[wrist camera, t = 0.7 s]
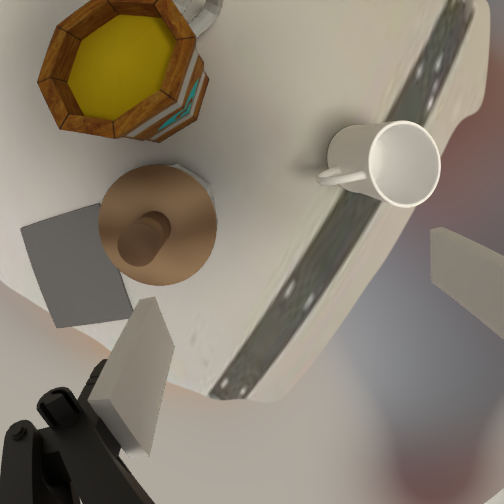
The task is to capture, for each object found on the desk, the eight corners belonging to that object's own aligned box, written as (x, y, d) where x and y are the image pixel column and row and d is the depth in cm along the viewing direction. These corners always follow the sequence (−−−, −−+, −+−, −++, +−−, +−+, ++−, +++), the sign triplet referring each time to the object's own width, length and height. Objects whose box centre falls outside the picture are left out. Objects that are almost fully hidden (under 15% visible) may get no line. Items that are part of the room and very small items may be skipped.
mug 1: (162, 165, 36) (120, 176, 22) (82, 108, 33) (12, 93, 18) (265, 41, 32) (285, -17, 18) (180, -11, 29) (158, -77, 15)
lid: (90, 181, 28) (55, 192, 21) (203, 152, 28) (193, 152, 21) (121, 289, 32) (97, 323, 25) (228, 269, 32) (227, 302, 25)
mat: (21, 227, 37) (20, 228, 36) (100, 203, 37) (98, 203, 36) (57, 327, 42) (56, 328, 41) (135, 316, 42) (134, 317, 41)
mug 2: (309, 204, 38) (340, 227, 27) (294, 135, 36) (321, 129, 24) (393, 185, 38) (447, 201, 27) (381, 121, 36) (435, 114, 24)
